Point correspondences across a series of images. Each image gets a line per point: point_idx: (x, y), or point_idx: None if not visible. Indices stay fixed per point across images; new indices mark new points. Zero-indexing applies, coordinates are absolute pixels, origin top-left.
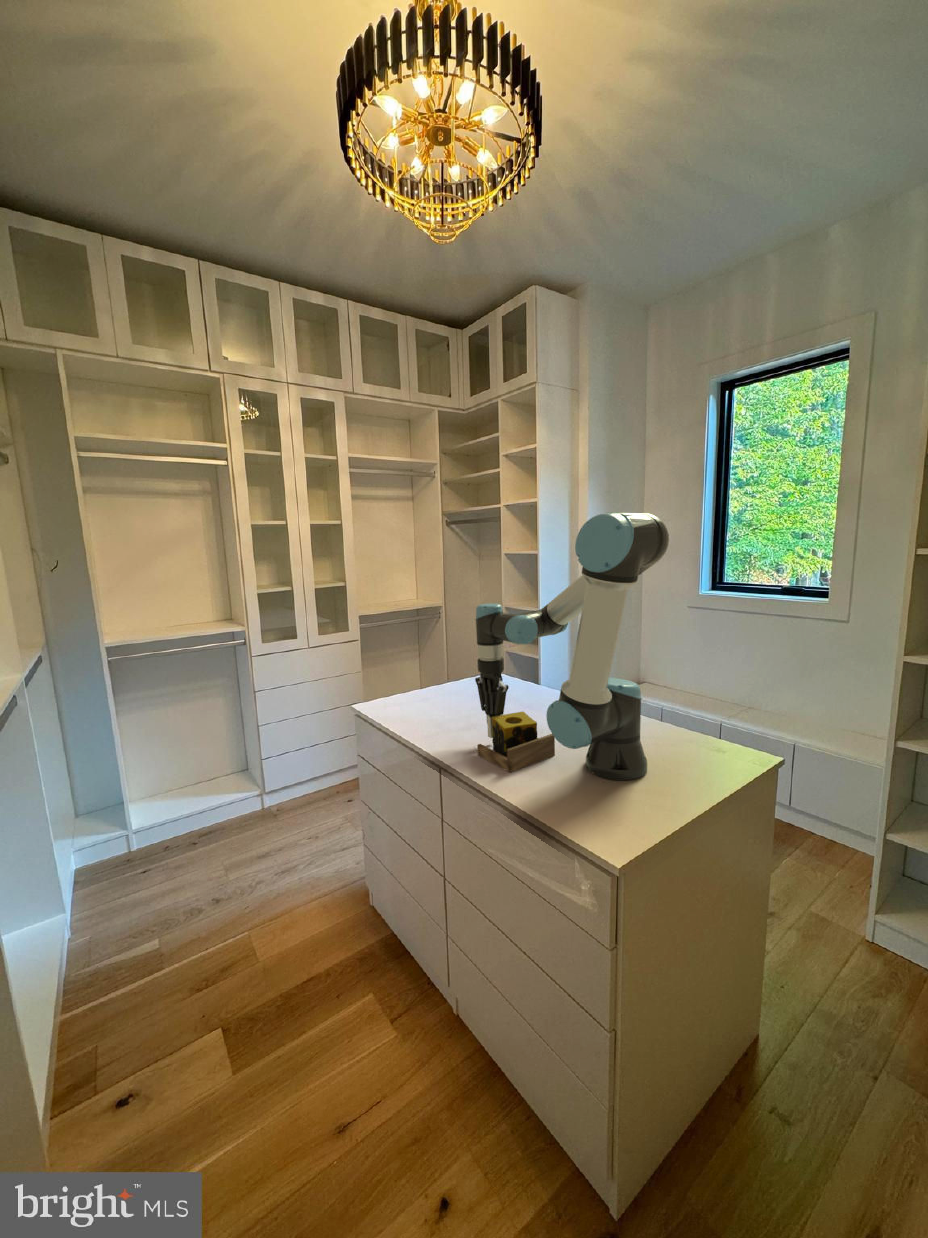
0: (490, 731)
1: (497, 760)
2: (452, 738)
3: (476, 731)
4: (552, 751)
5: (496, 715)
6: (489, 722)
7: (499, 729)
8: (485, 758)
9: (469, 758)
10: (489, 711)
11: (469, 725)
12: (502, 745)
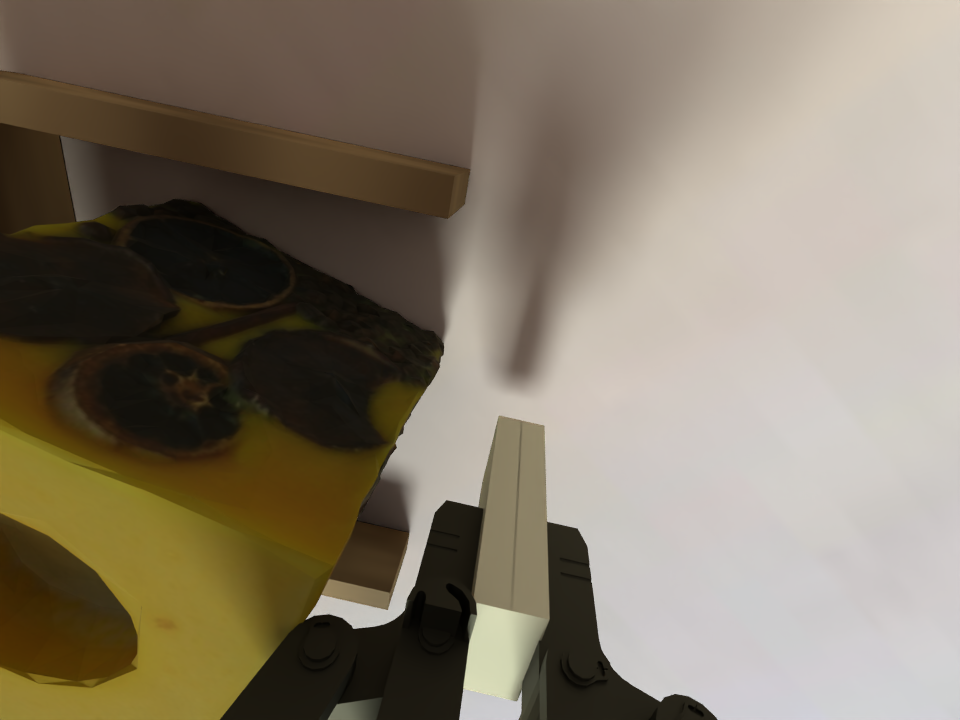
0: (498, 455)
1: (140, 103)
2: (934, 308)
3: (786, 520)
4: None
5: (304, 630)
6: (502, 530)
7: (72, 355)
8: (351, 145)
9: (481, 47)
10: (538, 704)
11: (911, 575)
12: (168, 272)
